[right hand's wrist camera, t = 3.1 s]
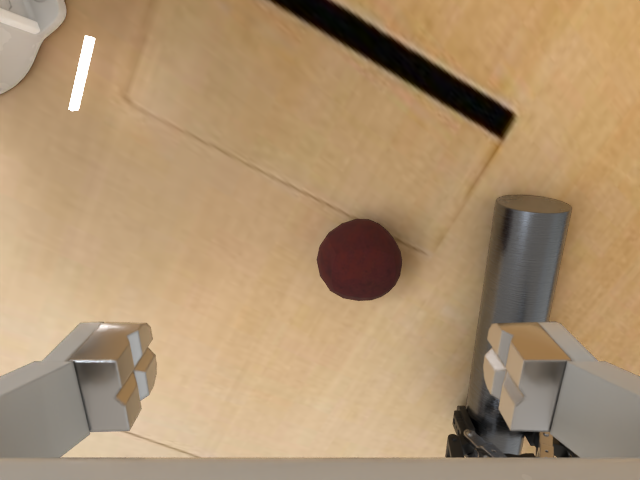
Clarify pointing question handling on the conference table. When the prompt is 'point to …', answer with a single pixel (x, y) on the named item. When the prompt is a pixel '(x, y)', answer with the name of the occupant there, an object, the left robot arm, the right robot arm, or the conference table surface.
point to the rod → (515, 294)
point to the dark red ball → (359, 260)
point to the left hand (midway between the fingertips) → (490, 412)
